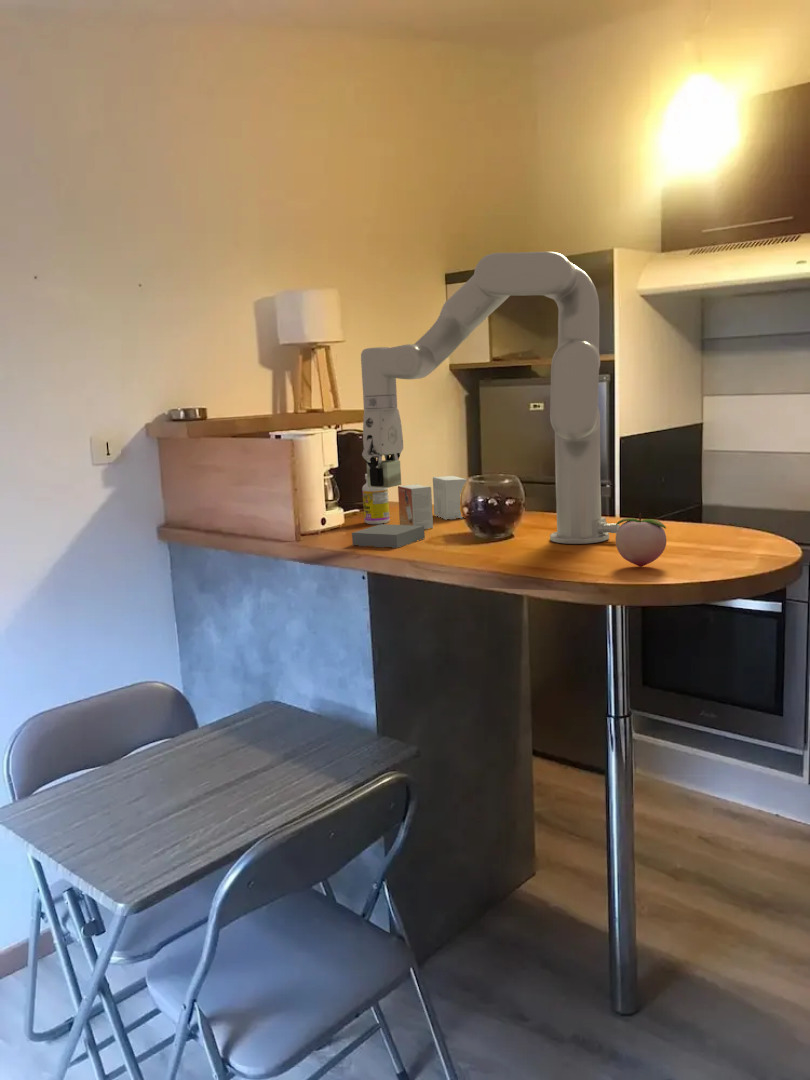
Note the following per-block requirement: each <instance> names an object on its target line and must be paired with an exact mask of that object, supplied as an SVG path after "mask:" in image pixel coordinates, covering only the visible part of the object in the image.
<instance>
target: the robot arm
mask: <svg viewBox="0 0 810 1080" xmlns="http://www.w3.org/2000/svg"><path fill="white" fill-rule="evenodd" d="M511 296H514V297H515V296H518V297H519V296H544V297H546V298H549V299H551V300H553V301H554V302H555V303H556V305H557V308H558V311H557V313H558V318H557V319H558V321H557V328H558V329H557V331H558V332H557V348H556V350H555V351H554V354H553V355H552V359H551V367H550V398H549V399H550V400H549V401H550V402H549V403H550V406H549V420H550V424H551V427H552V430H553V431H554V463H555V470H554V472H555V473H554V474H555V500H556V502H555V503H556V506H555V507H556V531H554V532H552V533H551V534H549V535H550V536H549V539H550V541H551V542H554V543H557V544H566V545H568V544H569V545H584V544H585V545H587V544H595V543H597V544H598V543H602V542H605V541H607V540H609V539H610V534H616V533H617V530H618V528H619V527H620V526H621V525H620V524H618V525H616V524H617V523H608V522H607V521H606V517H605V516H604V517H603V516H602V498H601V497H602V495H601V493H602V492H601V488H602V487H601V413H600V408H599V406H598V405H599V383H600V382H599V379H600V377H599V375H600V367H601V355H600V300H599V295H598V292H597V288H596V286H595V284H594V282H593V280H592V279H591V277H590V276H589V275H588V274H587V273H586V271H584V270H583V269H581V268H580V267H578V266H577V265H576V264H573V262H571V261H570V260H569V259H568V258H567V257H566V256H565V255H563V254H561V253H559V252H555V251H528V252H527V251H525V252H524V251H523V252H521V251H520V252H494V253H493V252H492V253H490V254H489V253H488V254H487V255H484V256H483V257H482V258H481V259H480V260H479V261H478V262H477V264H476V265H475V268H474V273H473V275H472V276H471V277H470V278H469V279H468V280H467V281H466V282H465V283H463V285H462V286H460V287H459V289H458V290H457V291H455V292H454V293H453V294H451V296H450V297H449V298H448V299H446V301H445V302H444V304H443V306H442V307H441V310H440V312H439V316H438V317H437V319H436V321H435V322H434V323H433V325H432V326H431V327H429V329H428V330H427V331H426V332H425V333H424V334H423V335H422V336H421V337H420V338H419V339H418V340H417V341H416V342H414V344H410V343H409V344H402V345H397V346H392V347H388V346H382V347H381V346H379V347H367V348H364V349H362V351H361V353H360V364H361V383H362V399H363V401H362V402H363V422H362V424H363V426H362V433H363V434H362V438H363V439H362V441H363V442H362V443H363V451H362V453H361V456H362V458H363V459H364V460H365V462H366V465H367V464H368V468H369V469H370V485H371V486H383V485H384V483H383V468H381V462H382V460H383V456H384V459H385V460H392V461H400V460H399V459H400V456H401V453H402V452H403V450H404V437H403V428H402V427H403V426H402V421H401V416H400V411H399V409H398V395H397V394H398V393H397V379H400V380H418V379H423V378H425V377H427V376H429V375H430V374H432V372H433V371H435V370H436V369H437V368H438V367H439V366H440V365H441V364H442V363H444V361H446V360H447V359H448V358H449V357H450V356H451V355H452V354H453V352H455V350H456V349H458V347H459V346H460V345H461V344H462V343H463V342H464V341H465V340H466V339H467V338H468V337H469V336H470V335H471V334H472V333H473V332H474V331H475V329H477V327H478V326H480V325H481V324H482V323H483V322H484V321H486V319H488V317H490V315H491V314H493V313H494V312H495V310H497V309H498V308H499V307H500V306H501V305H502V304H503V303H504V302H505V301H506V300H508V298H509V297H511Z"/></svg>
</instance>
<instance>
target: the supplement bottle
mask: <svg viewBox="0 0 810 1080" xmlns="http://www.w3.org/2000/svg"><path fill="white" fill-rule="evenodd" d="M364 479H365V481H366V482H365V483H364V484H363V486H362V487H361V489H362V491H361V492H362V505H363V517H364V518H363V519H364V523H365V524H366V523H367V525H379V524H383V523H384V524H387V523H389V521H390V508H389V507H390V506H389V505H390V504H389V488H381V487H368V481H367V473H365V475H364Z"/></svg>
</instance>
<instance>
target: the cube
mask: <svg viewBox="0 0 810 1080" xmlns="http://www.w3.org/2000/svg"><path fill="white" fill-rule="evenodd" d="M381 468H383V483H384V485H383V486H371V485H370V469H369V468H368V464H367V463H366V474H367V481H368V487H381V488H388V489H389V488H393V487H398V486H402V472H401V460H399V461H392V460H383V459H382V462H381Z"/></svg>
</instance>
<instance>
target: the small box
mask: <svg viewBox="0 0 810 1080" xmlns="http://www.w3.org/2000/svg"><path fill="white" fill-rule="evenodd" d="M397 495H398V513H399V514H398V515H399V525H415V526H424V529H425V530H429V529H428V528H432V529H433V528H434V520H433V518H434V517H433V501H432V500H433V498H432V486H428V485H422V484H418V483H417V484H414V483H413V484H408V485H398V486H397Z"/></svg>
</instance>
